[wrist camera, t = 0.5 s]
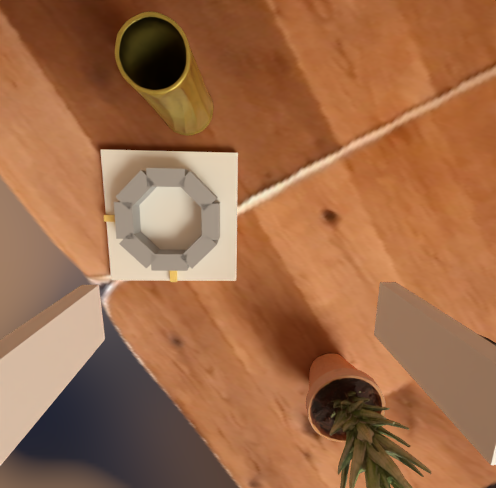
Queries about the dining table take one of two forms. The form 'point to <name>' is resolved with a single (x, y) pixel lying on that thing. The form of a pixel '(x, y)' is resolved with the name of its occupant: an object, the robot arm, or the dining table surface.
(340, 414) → the potted plant
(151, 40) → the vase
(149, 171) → the socket
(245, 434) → the dining table surface
